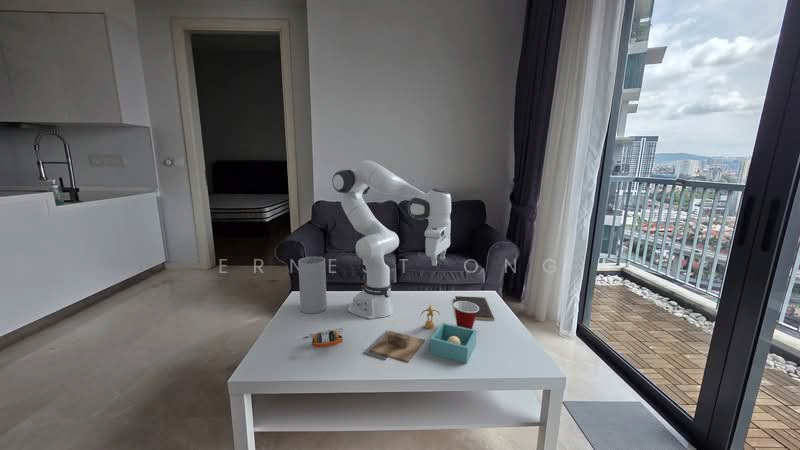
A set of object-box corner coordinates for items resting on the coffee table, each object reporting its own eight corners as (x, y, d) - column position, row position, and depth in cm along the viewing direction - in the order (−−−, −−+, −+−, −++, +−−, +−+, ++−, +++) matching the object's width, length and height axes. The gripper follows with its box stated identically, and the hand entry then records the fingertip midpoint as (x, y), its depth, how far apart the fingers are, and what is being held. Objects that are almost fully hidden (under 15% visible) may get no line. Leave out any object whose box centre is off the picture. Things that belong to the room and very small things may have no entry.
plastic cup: (478, 339, 133) (479, 312, 131) (451, 336, 135) (452, 309, 133) (477, 326, 144) (479, 301, 142) (452, 324, 146) (453, 299, 144)
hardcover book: (459, 320, 151) (459, 315, 151) (455, 300, 174) (455, 296, 173) (494, 321, 150) (494, 317, 149) (485, 301, 172) (485, 297, 172)
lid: (369, 352, 122) (369, 339, 122) (389, 332, 137) (389, 321, 136) (408, 363, 116) (408, 350, 115) (424, 342, 130) (425, 330, 129)
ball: (445, 350, 123) (445, 338, 122) (449, 344, 128) (449, 332, 127) (458, 353, 121) (458, 341, 120) (461, 347, 125) (462, 335, 125)
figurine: (438, 327, 143) (439, 301, 141) (440, 333, 137) (441, 307, 135) (419, 326, 143) (420, 301, 141) (420, 333, 137) (421, 307, 135)
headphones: (340, 321, 142) (351, 332, 123) (341, 333, 142) (352, 346, 123) (301, 328, 136) (306, 341, 117) (302, 341, 135) (307, 356, 117)
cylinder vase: (327, 302, 167) (326, 256, 163) (325, 313, 155) (323, 263, 151) (302, 304, 166) (300, 256, 161) (298, 315, 154) (296, 264, 149)
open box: (429, 355, 121) (430, 338, 120) (442, 338, 134) (442, 322, 132) (466, 366, 115) (467, 348, 114) (475, 346, 128) (476, 330, 126)
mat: (363, 353, 122) (363, 352, 122) (386, 332, 138) (386, 330, 138) (411, 368, 114) (411, 366, 114) (430, 343, 130) (430, 342, 130)
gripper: (440, 224, 141) (439, 255, 144) (422, 232, 123) (422, 267, 126) (454, 225, 139) (453, 257, 141) (438, 234, 121) (437, 270, 123)
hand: (438, 262), depth 133 cm, fingers open, 8 cm apart
